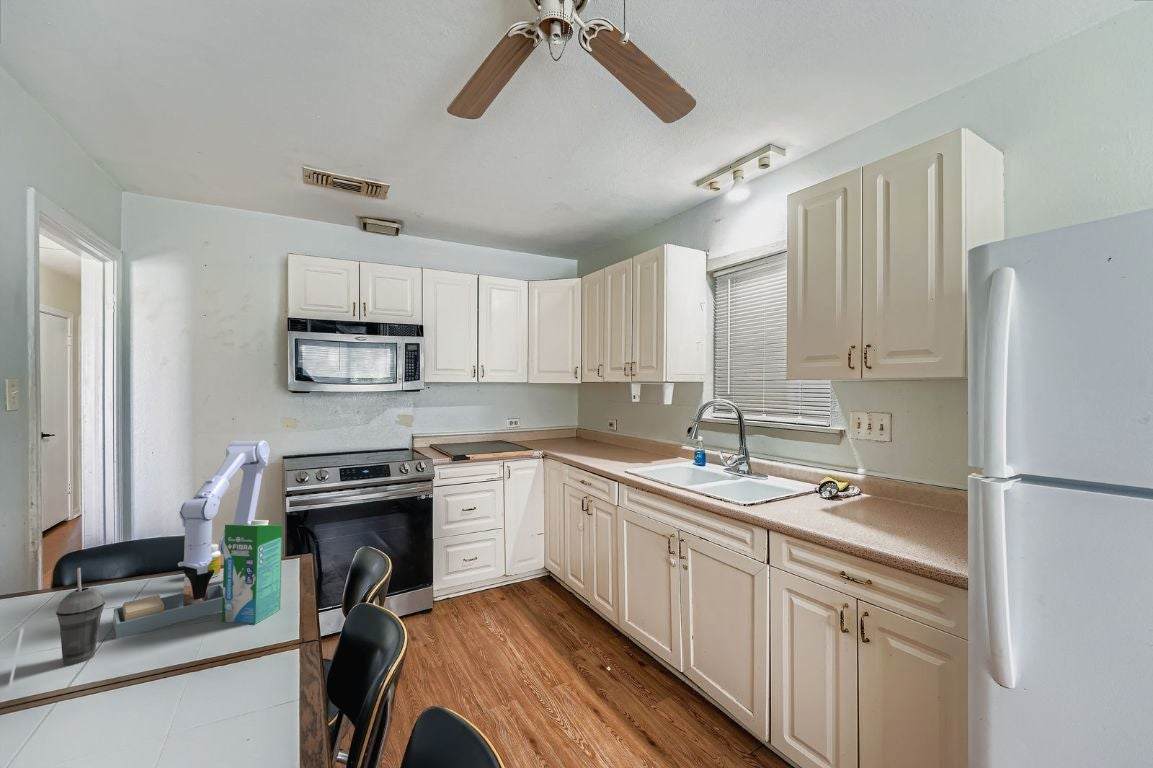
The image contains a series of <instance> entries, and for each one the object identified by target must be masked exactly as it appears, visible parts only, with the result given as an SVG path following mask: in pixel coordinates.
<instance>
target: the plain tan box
mask: <svg viewBox="0 0 1153 768" xmlns="http://www.w3.org/2000/svg"><path fill="white" fill-rule="evenodd" d="M161 598H162V597H161V595H159V594H156V595H152V596H148V597H144V598H139V599H136V600H131V601H125V602H124V603H123V604H122V607H123V609H122V622H125V621H129V620H133V619H137V618H141V617H145V616H149V615H153V614H157V613H161V612H164V604H163V602H162V600H161Z"/></svg>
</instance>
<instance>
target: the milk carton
mask: <svg viewBox="0 0 1153 768" xmlns="http://www.w3.org/2000/svg"><path fill="white" fill-rule="evenodd" d="M224 529H225V538H224V557H223V573H222V574H223V576H222V577H223V578H222V582H223V602H222V611H221V622H225V623H226V622H227V623H243V624H244V623H245V624H247V626H255V625H257V624H258V623H260V622H262V621H264V620H266V618H268V617H270V616H272V615H273V614H275V613H276V612H278V611H280V610H281V594H282V593H281V591H282V589H281V588H282V585H281V584H282V551H283V550H282V549H283V547H282V546H283V525H282V524H281V525H280V524H269V520H268V519H267V520H266V519H263V520H262V519H259V520H258V519H254V520H252V521H251V524H236V525H231V524H225V525H224Z"/></svg>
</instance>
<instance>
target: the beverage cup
mask: <svg viewBox="0 0 1153 768" xmlns="http://www.w3.org/2000/svg"><path fill="white" fill-rule="evenodd" d="M76 573H77V576H76V577H77V589H75V590H73V591H71V592H70V593H68V594H66V596H65V597H63V599H61V601H60V602H59V604H58V606H57V611H56V613H55V614H56V616H57V621H58V624H59V632H60V643H61V644H60V645H61V657H62V662H63V665H64V666H73V665H78V664H81V663H84V662H87V661H89V660H90V659H93V658H94V656H95V652H96V650H97V644H98V639H99V632H100V631H99V630H100V624H101V618H102V617H101V616H102V614H103V611H104V608H105V607H104V606H105V604H106V602H105V598H104V595H103V593H102V592H101V591H100V590H99V589H97V588H93V587H82V573H81V567H78V568H77V569H76Z"/></svg>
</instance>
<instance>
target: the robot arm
mask: <svg viewBox="0 0 1153 768" xmlns="http://www.w3.org/2000/svg"><path fill="white" fill-rule="evenodd" d="M225 450H226V451H225V458H224V461H223V462H222V464H221V466H220V467H219V469H218V470H217V472H216V474H215V475H212V476H209V477H208V478H207V479H206V481H204V483H203V484H202V486H200V488H199V489H198V491H197V492H196V494H195V495H194V496H193V497H191V498H189V499H187V500H186V501H184V502H183V503H182V505H181V506H180V507H181V508H180V510H179V511H178V512H179V513H178V515H179V517H180V519H181V521H182V527H183V528H184V544H183V545H184V548H183V550H184V553H183V555H184V556H183V561H179V562H178V563H177V567H180V568H181V570H182V571H183V573H184V575H185V576H184V577H186V576H187V577H188V579H189V580H190V583H191V586H192V593H193V597H194V600H197V599H201V598H204V597H205V594H206V591H207V587H209V584H210V581H211V579H212V578H211V577H212V576H213V574H214V572H215V571H214V569H212V570H208V565H209V563H210V562H211V561H212V557H211V549H212V544H213V541H212V540H213V518H214V517H216V515H217V514H218V511H219V507H220V505H221V499H222V498H223V496H224V495H225V494H226V492H227V491H228V490H229V488H230V482H229V481H230V479H231V478H232V477H233V476H234V475H235V474H236V472H237V471H238V470H239V468H240V469H241V470H242V472H243V473H242V479H241V483H240V490H239V494H238V499H237V505H236V511H235V515H234V521H233V522H232V524H230V525H236V524H251V521H252V520H255V518H256V512H257V506H258V500H259V494H260V490H261V485H262V484H261V483H262V479H263V472H264V469H265V468H266V467H268V463H269V458H270V453H271V452H270V451H271V448H270V446H269V443H268V442H267V441H266V440H263V439H262V440H236V439H234V440H232V441H230V442H229V443H228V446H227V447H226V449H225ZM222 533H223V534H222V536H221V539H220V540H219V542H218V551H220V553H221V555H223V557H222V558H224V538H225V528H224V530H223V532H222ZM221 584H222V585H223V581H222V582H221Z"/></svg>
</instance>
